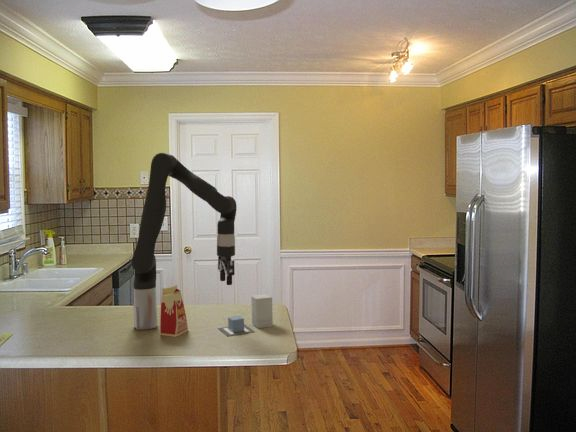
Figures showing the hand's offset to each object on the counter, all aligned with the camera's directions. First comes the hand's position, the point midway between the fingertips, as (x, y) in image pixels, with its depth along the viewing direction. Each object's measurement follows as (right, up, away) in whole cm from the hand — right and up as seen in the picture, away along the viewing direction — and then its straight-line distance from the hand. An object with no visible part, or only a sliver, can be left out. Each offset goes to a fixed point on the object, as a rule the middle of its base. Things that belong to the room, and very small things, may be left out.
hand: (226, 282), depth 218 cm
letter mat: (+4, -20, -1) cm, 20 cm away
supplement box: (+15, -19, +6) cm, 25 cm away
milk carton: (-22, -21, -3) cm, 30 cm away
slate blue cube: (+4, -19, -1) cm, 20 cm away
